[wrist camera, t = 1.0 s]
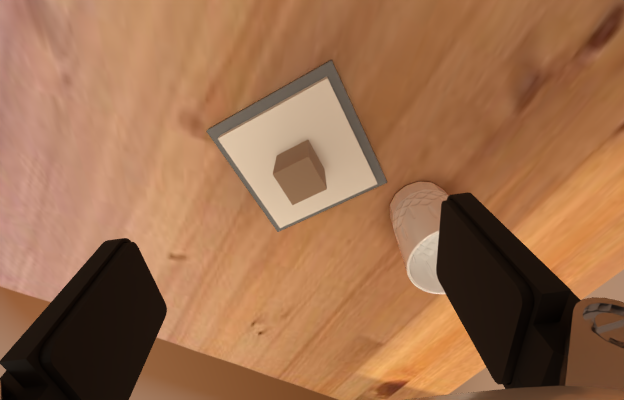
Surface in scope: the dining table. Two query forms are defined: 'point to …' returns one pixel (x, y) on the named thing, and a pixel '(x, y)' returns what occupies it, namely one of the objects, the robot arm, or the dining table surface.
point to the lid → (300, 154)
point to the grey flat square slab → (283, 94)
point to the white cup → (419, 231)
